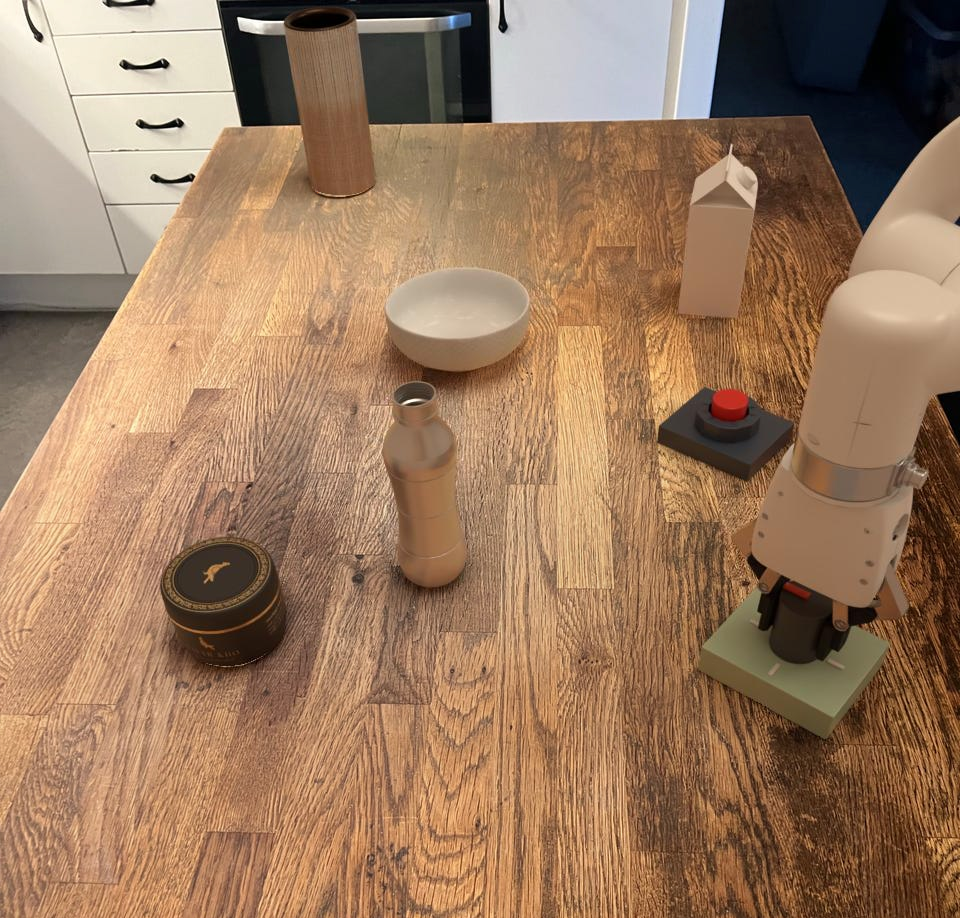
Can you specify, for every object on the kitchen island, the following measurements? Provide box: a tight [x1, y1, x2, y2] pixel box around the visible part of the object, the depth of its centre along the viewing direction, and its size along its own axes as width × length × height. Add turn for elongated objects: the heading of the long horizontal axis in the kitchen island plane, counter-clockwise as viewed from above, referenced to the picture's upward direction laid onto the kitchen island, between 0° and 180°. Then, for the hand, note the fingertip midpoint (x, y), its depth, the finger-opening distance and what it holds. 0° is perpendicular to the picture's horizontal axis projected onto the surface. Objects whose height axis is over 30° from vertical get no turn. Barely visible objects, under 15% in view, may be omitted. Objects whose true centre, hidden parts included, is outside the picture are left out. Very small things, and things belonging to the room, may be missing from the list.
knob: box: [769, 580, 833, 664], centre depth 80 cm, size 4×4×6 cm
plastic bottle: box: [381, 380, 468, 588], centre depth 87 cm, size 6×7×20 cm
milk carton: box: [677, 143, 759, 319], centre depth 116 cm, size 7×7×19 cm
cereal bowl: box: [384, 266, 531, 373], centre depth 117 cm, size 17×17×7 cm
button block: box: [656, 386, 795, 483], centre depth 105 cm, size 11×9×4 cm
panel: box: [697, 586, 891, 740], centre depth 84 cm, size 12×10×3 cm
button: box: [711, 388, 749, 422], centre depth 103 cm, size 4×4×2 cm
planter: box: [283, 6, 377, 195], centre depth 145 cm, size 10×10×23 cm
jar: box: [159, 536, 287, 666], centre depth 88 cm, size 10×10×8 cm
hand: (798, 633), depth 82 cm, fingers closed on knob, 4 cm apart
